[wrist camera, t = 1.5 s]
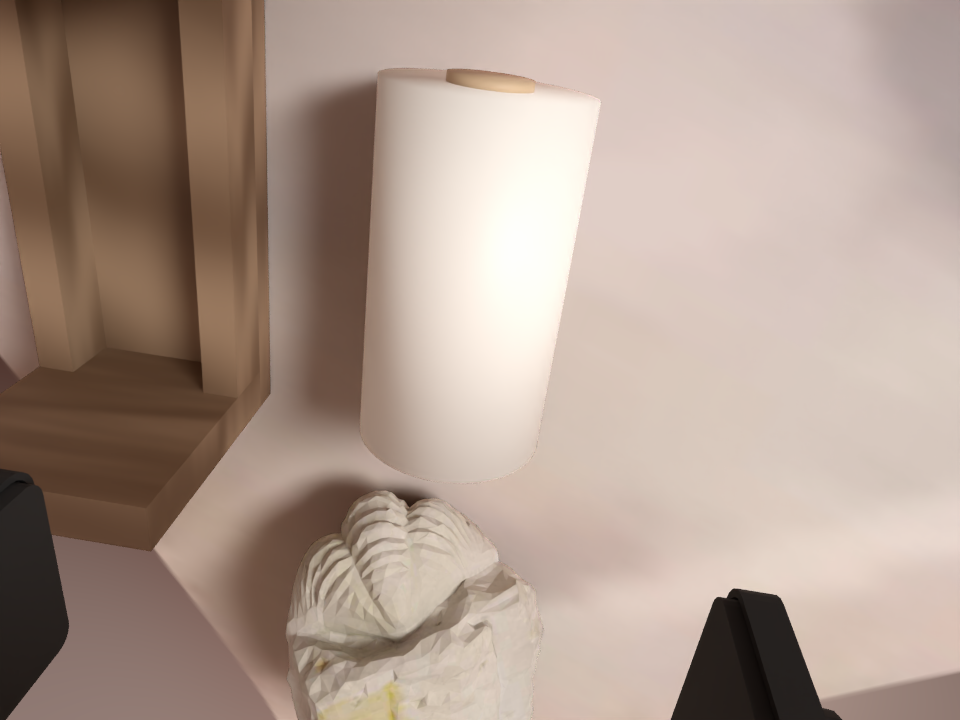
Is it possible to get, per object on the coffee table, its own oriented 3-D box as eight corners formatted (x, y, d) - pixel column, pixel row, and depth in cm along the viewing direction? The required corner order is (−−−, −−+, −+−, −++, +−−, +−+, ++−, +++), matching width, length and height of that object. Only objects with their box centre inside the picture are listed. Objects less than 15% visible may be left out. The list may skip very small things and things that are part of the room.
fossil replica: (448, 421, 28) (275, 514, 32) (374, 565, 20) (160, 663, 24) (612, 638, 31) (433, 698, 35) (598, 833, 23) (374, 880, 27)
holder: (27, -120, 21) (-312, -200, 13) (262, -89, 20) (68, -151, 12) (96, 366, 28) (-93, 510, 20) (270, 393, 28) (151, 551, 20)
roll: (411, 54, 22) (346, 67, 17) (605, 82, 21) (600, 104, 16) (388, 379, 27) (332, 467, 22) (543, 408, 27) (525, 507, 21)
